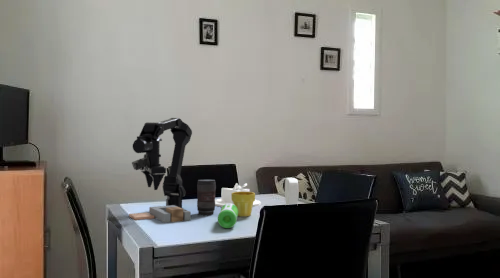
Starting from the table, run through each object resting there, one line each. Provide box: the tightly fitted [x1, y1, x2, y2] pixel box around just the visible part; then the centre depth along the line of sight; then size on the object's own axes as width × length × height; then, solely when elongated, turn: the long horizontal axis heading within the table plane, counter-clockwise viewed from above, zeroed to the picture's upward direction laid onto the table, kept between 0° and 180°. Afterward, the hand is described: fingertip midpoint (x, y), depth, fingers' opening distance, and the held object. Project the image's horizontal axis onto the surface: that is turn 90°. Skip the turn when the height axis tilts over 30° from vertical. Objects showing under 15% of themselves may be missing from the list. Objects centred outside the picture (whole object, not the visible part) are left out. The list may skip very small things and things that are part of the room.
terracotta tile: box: [128, 211, 155, 221], centre depth 191 cm, size 8×9×1 cm
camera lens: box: [196, 179, 217, 216], centre depth 201 cm, size 8×8×15 cm
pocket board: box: [148, 205, 192, 224], centre depth 191 cm, size 11×18×4 cm, turn 31°
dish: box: [215, 182, 262, 208], centre depth 230 cm, size 25×25×11 cm
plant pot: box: [232, 191, 256, 218], centre depth 199 cm, size 10×10×10 cm
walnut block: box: [166, 207, 184, 223], centre depth 186 cm, size 5×6×5 cm
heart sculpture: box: [284, 177, 300, 206], centre depth 184 cm, size 16×5×18 cm, turn 2°
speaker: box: [217, 203, 239, 229], centre depth 179 cm, size 18×7×8 cm, turn 179°
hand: (152, 188), depth 194 cm, fingers open, 9 cm apart
